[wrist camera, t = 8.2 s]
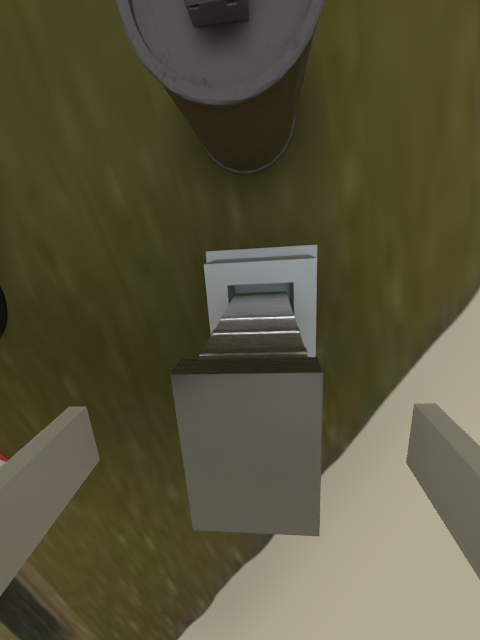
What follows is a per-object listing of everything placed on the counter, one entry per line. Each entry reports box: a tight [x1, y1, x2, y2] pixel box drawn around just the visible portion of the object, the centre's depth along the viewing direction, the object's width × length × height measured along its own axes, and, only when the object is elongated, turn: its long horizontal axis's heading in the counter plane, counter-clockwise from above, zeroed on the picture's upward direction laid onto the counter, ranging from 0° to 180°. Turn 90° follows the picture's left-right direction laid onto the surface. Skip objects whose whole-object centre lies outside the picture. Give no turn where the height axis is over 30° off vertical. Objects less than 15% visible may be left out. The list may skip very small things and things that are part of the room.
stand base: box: [204, 245, 317, 357], centre depth 31 cm, size 13×13×9 cm
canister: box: [116, 0, 325, 174], centre depth 20 cm, size 11×10×20 cm
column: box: [170, 291, 323, 536], centre depth 19 cm, size 5×7×19 cm
